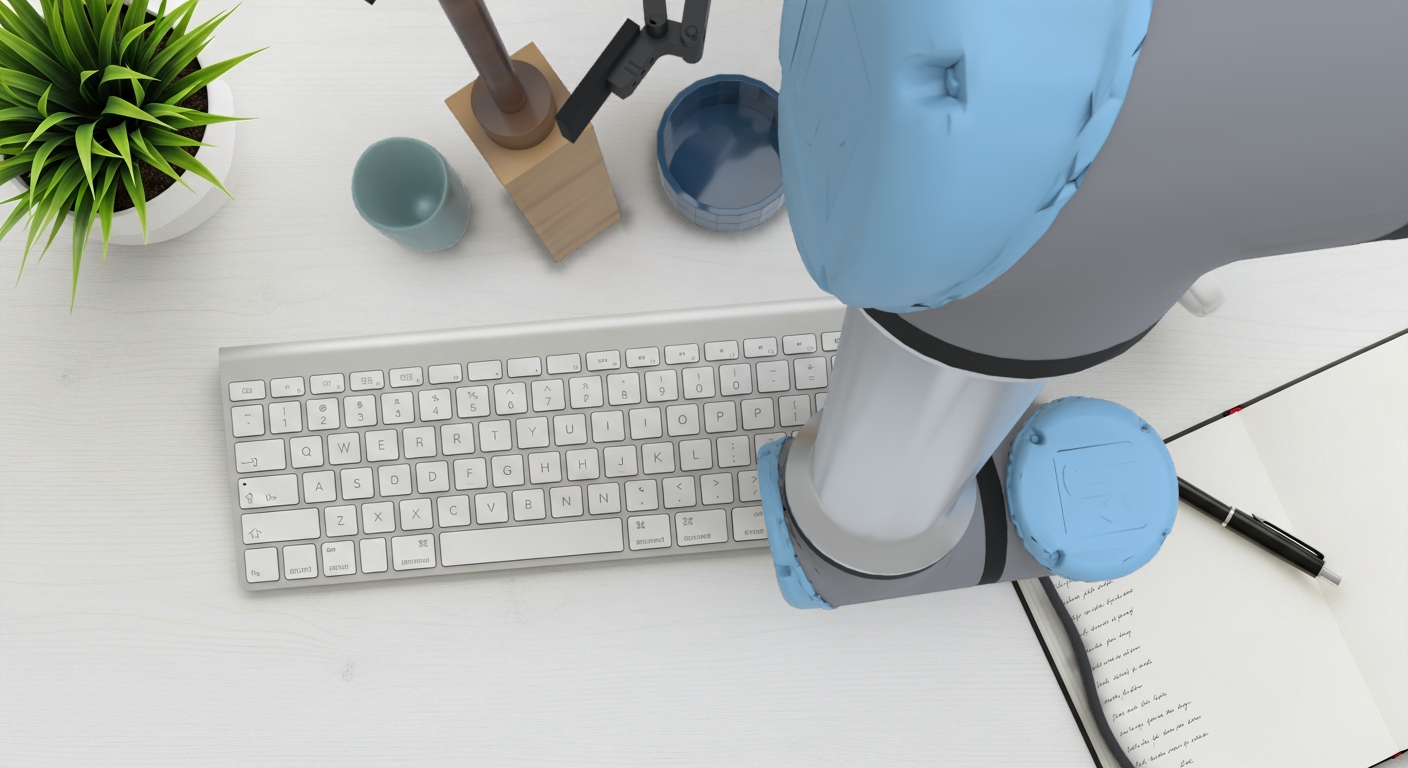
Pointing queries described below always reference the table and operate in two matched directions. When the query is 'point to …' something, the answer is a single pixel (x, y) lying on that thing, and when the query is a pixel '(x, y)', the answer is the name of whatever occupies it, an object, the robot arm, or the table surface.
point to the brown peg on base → (502, 81)
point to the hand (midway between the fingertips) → (459, 60)
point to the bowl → (722, 153)
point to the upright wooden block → (548, 171)
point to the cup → (411, 194)
